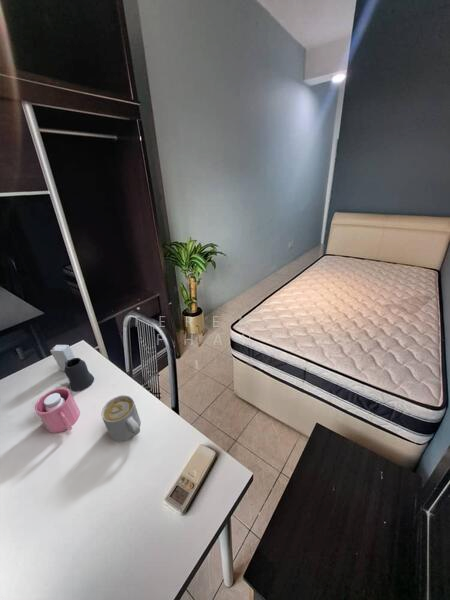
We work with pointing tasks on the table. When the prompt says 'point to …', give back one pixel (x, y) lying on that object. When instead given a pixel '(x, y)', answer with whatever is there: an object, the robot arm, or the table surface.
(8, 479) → the table surface
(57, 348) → the cosmetic box
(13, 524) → the table surface
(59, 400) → the pill bottle
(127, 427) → the coffee mug
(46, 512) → the table surface
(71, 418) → the pink ribbed cup
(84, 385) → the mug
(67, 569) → the table surface
